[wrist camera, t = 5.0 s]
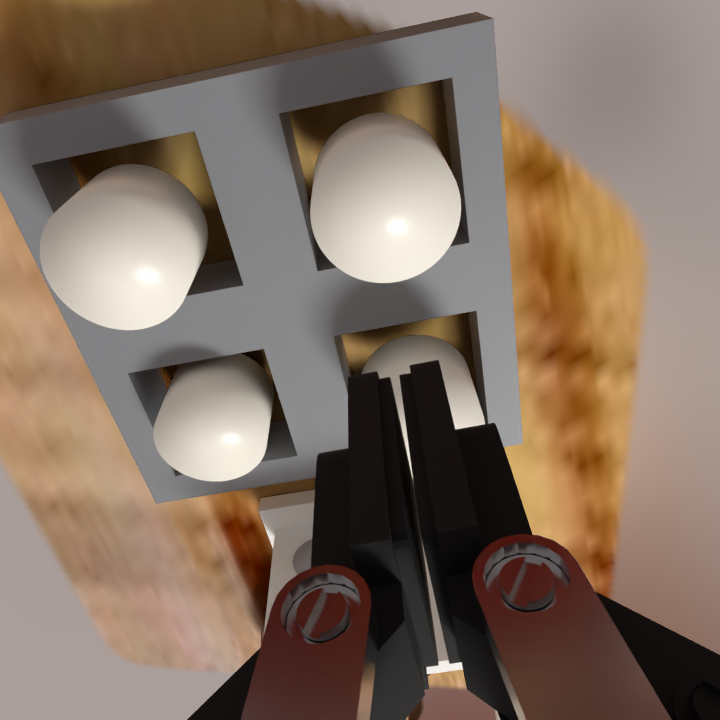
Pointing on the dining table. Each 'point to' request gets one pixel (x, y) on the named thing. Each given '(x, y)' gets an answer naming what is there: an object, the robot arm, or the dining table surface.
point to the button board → (284, 237)
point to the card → (294, 547)
